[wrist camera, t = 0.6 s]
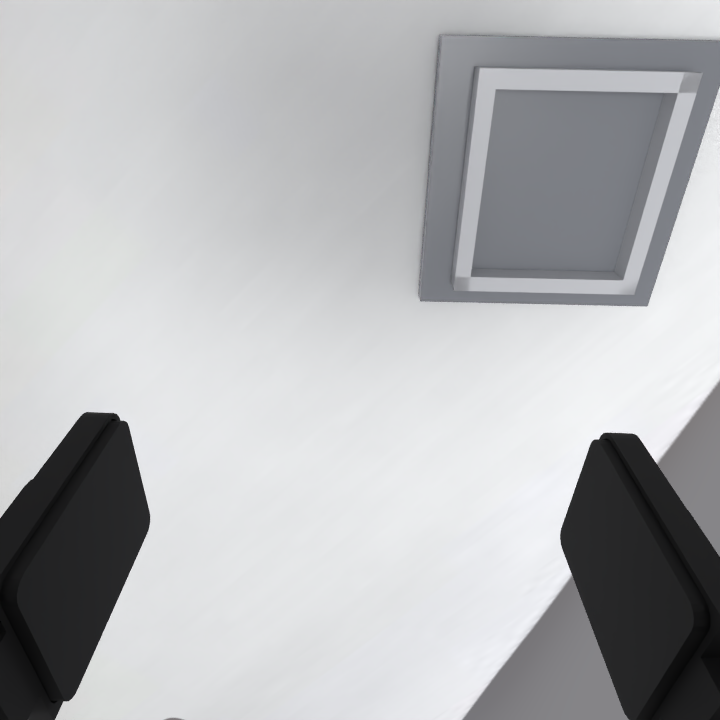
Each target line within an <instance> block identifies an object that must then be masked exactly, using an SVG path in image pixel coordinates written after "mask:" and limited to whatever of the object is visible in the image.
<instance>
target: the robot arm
mask: <svg viewBox="0 0 720 720" xmlns="http://www.w3.org/2000/svg"><path fill="white" fill-rule="evenodd" d="M149 525H150V512H149V508H148V504H147V500H146V496H145V492H144V488H143V484H142V479H141V475H140V471H139V467H138V463H137V459H136V455H135V450H134V446H133V442H132V438H131V434H130V430H129V426H128V423H127V422H126V421H120V418H119V416H118V415H117V414H114V413H94V412H86V413H84V414H83V415H82V416H80V418H79V419H78V420H77V422H76V423H75V424H74V426H73V427H72V428H71V430H70V431H69V432H68V434H67V435H66V436H65V438H64V439H63V440H62V442H61V443H60V444H59V445H58V447H57V448H56V449H55V451H54V452H53V453H52V455H51V456H50V457H49V459H48V460H47V461H46V463H45V464H44V465H43V467H42V468H41V469H40V471H39V472H38V473H37V475H36V476H35V477H34V479H32V480H30V481H29V482H28V484H27V485H26V486H25V487H24V488H23V489H22V490H21V492H20V493H19V494H18V496H17V497H16V498H15V500H14V501H13V502H12V504H11V505H10V506H9V507H8V509H7V510H6V511H5V513H4V514H3V515H2V517H1V518H0V720H55V718H56V716H57V714H58V712H59V710H60V707H61V705H62V703H63V701H69V700H71V699H72V698H73V696H74V695H75V693H76V691H77V689H78V687H79V685H80V683H81V681H82V678H83V676H84V674H85V672H86V669H87V667H88V665H89V663H90V660H91V658H92V656H93V654H94V651H95V649H96V647H97V645H98V642H99V640H100V638H101V636H102V633H103V631H104V629H105V627H106V624H107V622H108V620H109V618H110V615H111V613H112V611H113V609H114V606H115V604H116V602H117V600H118V597H119V595H120V593H121V591H122V588H123V586H124V584H125V582H126V579H127V577H128V575H129V573H130V570H131V568H132V566H133V564H134V561H135V559H136V557H137V555H138V553H139V550H140V548H141V546H142V544H143V541H144V539H145V537H146V535H147V532H148V529H149ZM560 539H561V546H562V549H563V552H564V554H565V557H566V560H567V562H568V565H569V568H570V570H571V573H572V576H573V578H574V581H575V583H576V586H577V589H578V592H579V594H580V597H581V600H582V602H583V605H584V607H585V610H586V613H587V615H588V618H589V621H590V623H591V626H592V629H593V631H594V634H595V637H596V639H597V642H598V645H599V647H600V650H601V653H602V655H603V658H604V661H605V663H606V666H607V668H608V671H609V674H610V676H611V679H612V682H613V684H614V687H615V690H616V692H617V695H618V698H619V700H620V703H621V706H622V708H623V710H624V713H625V715H626V716H627V717H628V719H629V720H720V557H719V555H718V554H717V552H716V551H715V550H714V548H713V547H712V545H711V544H710V542H709V540H708V539H707V537H706V536H705V535H704V533H703V532H702V530H701V529H700V527H699V526H698V524H697V523H696V521H695V520H694V518H693V517H692V515H691V514H690V512H689V511H688V510H687V509H686V507H685V506H684V504H683V503H682V501H681V500H680V498H679V497H678V495H677V494H676V492H675V491H674V489H673V488H672V486H671V485H670V484H669V482H668V480H667V479H666V477H665V476H664V474H663V473H662V471H661V470H660V468H659V467H658V465H657V464H656V462H655V461H654V459H653V458H652V456H651V455H650V454H649V452H648V451H647V449H646V448H645V446H644V445H643V443H642V442H641V440H640V439H639V438H638V436H637V435H635V434H626V433H603V434H602V435H601V437H600V439H599V440H593V441H592V443H591V445H590V448H589V451H588V453H587V456H586V459H585V462H584V465H583V468H582V471H581V474H580V476H579V479H578V482H577V485H576V488H575V491H574V494H573V497H572V500H571V502H570V505H569V508H568V511H567V514H566V517H565V520H564V523H563V525H562V528H561V534H560Z"/></svg>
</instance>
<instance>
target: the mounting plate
mask: <svg viewBox="0 0 720 720" xmlns="http://www.w3.org/2000/svg"><path fill="white" fill-rule="evenodd" d="M719 86H720V41H712V40H664V39H615V38H567V37H519V36H471V35H440V39H439V51H438V63H437V75H436V88H435V100H434V112H433V125H432V137H431V149H430V161H429V174H428V186H427V198H426V210H425V223H424V235H423V247H422V260H421V272H420V284H419V298H420V301H433V302H478V303H522V304H566V305H610V306H648V303H649V300H650V297H651V294H652V291H653V288H654V285H655V282H656V279H657V275H658V272H659V269H660V266H661V263H662V260H663V257H664V254H665V251H666V248H667V245H668V242H669V239H670V236H671V233H672V230H673V227H674V224H675V221H676V218H677V214H678V211H679V208H680V205H681V202H682V199H683V196H684V193H685V190H686V187H687V184H688V181H689V178H690V175H691V172H692V169H693V166H694V163H695V160H696V157H697V154H698V150H699V147H700V144H701V141H702V138H703V135H704V132H705V129H706V126H707V123H708V120H709V117H710V114H711V111H712V108H713V105H714V102H715V99H716V96H717V93H718V89H719Z"/></svg>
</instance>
